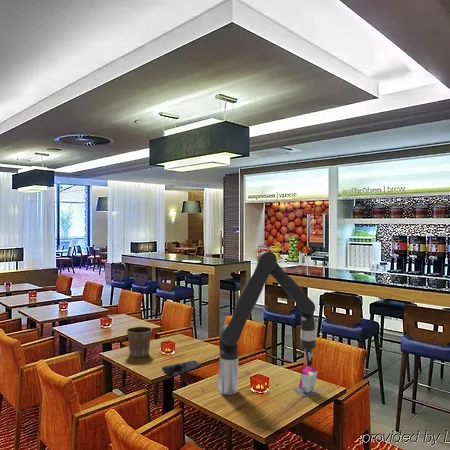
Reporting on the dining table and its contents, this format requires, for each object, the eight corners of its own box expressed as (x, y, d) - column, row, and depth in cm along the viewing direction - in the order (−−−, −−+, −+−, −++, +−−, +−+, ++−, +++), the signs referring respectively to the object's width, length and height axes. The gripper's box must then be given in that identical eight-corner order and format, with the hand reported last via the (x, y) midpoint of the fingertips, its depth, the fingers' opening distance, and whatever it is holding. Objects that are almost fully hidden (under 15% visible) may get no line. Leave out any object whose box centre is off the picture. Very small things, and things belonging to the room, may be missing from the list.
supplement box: (314, 388, 206) (318, 371, 201) (307, 394, 202) (311, 376, 197) (305, 381, 210) (308, 364, 205) (298, 387, 206) (301, 370, 201)
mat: (302, 396, 200) (302, 396, 200) (292, 388, 209) (292, 388, 209) (320, 394, 203) (320, 393, 203) (309, 386, 212) (309, 386, 212)
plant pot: (120, 354, 259) (121, 329, 259) (141, 349, 271) (142, 325, 271) (135, 360, 248) (136, 334, 248) (156, 354, 260) (157, 329, 260)
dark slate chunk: (204, 369, 236) (204, 361, 236) (172, 378, 222) (172, 369, 222) (189, 362, 248) (190, 354, 248) (158, 370, 234) (158, 361, 234)
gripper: (299, 334, 215) (300, 366, 215) (301, 341, 201) (302, 376, 202) (314, 334, 214) (314, 367, 214) (317, 342, 201) (318, 376, 201)
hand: (308, 371), depth 208 cm, fingers closed
